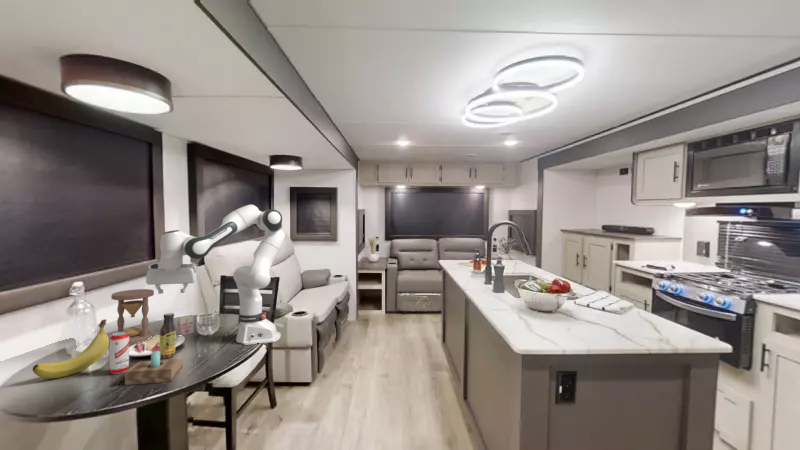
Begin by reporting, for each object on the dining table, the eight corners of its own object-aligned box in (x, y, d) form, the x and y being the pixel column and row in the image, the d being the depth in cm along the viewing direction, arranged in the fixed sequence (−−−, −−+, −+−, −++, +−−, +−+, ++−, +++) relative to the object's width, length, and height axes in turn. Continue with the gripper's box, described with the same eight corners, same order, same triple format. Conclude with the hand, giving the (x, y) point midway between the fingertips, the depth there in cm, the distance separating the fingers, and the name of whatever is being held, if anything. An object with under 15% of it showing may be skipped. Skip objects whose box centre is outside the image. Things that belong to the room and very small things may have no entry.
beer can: (132, 369, 141) (133, 332, 141) (115, 376, 135) (116, 336, 135) (122, 367, 143) (123, 330, 143) (105, 373, 137) (106, 334, 137)
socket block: (182, 370, 141) (182, 358, 141) (171, 381, 131) (171, 369, 131) (139, 373, 138) (139, 361, 138) (124, 384, 128) (125, 371, 128)
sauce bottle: (166, 360, 151) (167, 316, 151) (155, 358, 152) (156, 315, 152) (179, 354, 158) (179, 312, 157) (168, 353, 159) (168, 311, 159)
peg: (161, 375, 136) (161, 351, 136) (157, 378, 133) (157, 354, 133) (153, 376, 136) (153, 351, 136) (149, 379, 133) (149, 354, 133)
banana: (34, 386, 125) (35, 333, 125) (30, 382, 128) (31, 330, 128) (110, 365, 144) (111, 319, 144) (105, 362, 147) (106, 317, 147)
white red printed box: (176, 335, 183) (177, 317, 183) (189, 332, 189) (190, 314, 189) (180, 336, 181) (180, 318, 181) (193, 333, 187) (193, 315, 187)
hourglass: (101, 343, 169) (102, 294, 169) (136, 332, 186) (136, 288, 186) (128, 347, 165) (129, 297, 165) (161, 335, 182) (162, 290, 182)
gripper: (198, 262, 164) (198, 290, 165) (151, 263, 160) (151, 292, 160) (193, 264, 158) (193, 293, 158) (144, 265, 154) (144, 295, 154)
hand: (171, 293), depth 159 cm, fingers open, 8 cm apart
